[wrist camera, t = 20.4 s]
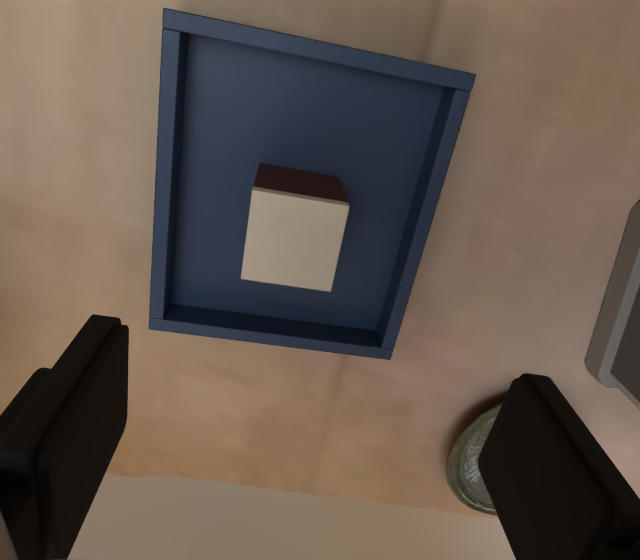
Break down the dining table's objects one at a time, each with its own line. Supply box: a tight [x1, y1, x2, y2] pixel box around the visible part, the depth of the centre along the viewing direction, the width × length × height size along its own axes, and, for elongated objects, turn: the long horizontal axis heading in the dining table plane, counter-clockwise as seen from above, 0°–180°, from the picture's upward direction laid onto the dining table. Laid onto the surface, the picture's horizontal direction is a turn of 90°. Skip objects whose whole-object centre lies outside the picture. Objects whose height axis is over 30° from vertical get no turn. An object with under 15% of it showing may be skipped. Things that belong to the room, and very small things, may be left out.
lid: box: [446, 402, 503, 516], centre depth 35 cm, size 11×10×5 cm
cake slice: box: [241, 163, 349, 292], centre depth 25 cm, size 4×4×6 cm
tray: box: [149, 8, 476, 360], centre depth 27 cm, size 17×15×2 cm
